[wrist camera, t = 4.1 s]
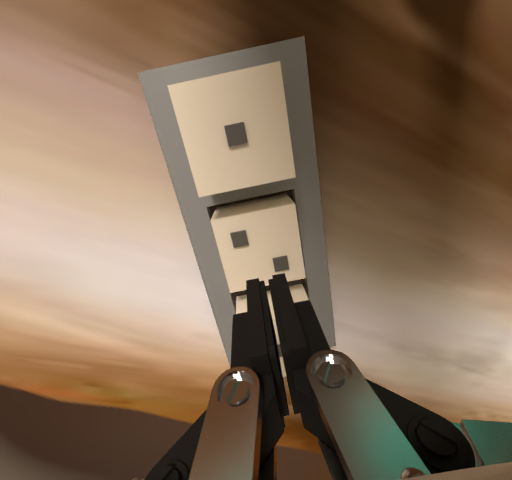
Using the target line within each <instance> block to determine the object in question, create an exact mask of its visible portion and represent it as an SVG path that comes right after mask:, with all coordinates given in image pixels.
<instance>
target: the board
mask: <svg viewBox="0 0 512 480" xmlns="http://www.w3.org/2000/svg"><path fill="white" fill-rule="evenodd" d="M277 61H280V64H281V71H282V79H283V86H284V93H285V101H286V108H287V116H288V123H289V131H290V138H291V145H292V153H293V160H294V168H295V175H296V177H295V178H290V179H285V180H281V181H276V182H271V183H266V184H261V185H256V186H252V187H247V188H242V189H237V190H232V191H228V192H223V193H218V194H213V195H208V196H203V197H199V196H198V193H197V189H196V186H195V182H194V178H193V175H192V171H191V168H190V164H189V161H188V157H187V154H186V150H185V147H184V143H183V139H182V136H181V132H180V129H179V125H178V122H177V118H176V115H175V111H174V108H173V104H172V101H171V97H170V93H169V90H168V86H167V85H172V84H176V83H181V82H185V81H190V80H195V79H199V78H204V77H208V76H213V75H218V74H222V73H227V72H231V71H236V70H241V69H245V68H250V67H254V66H259V65H264V64H268V63H273V62H277ZM138 76H139V79H140V82H141V85H142V88H143V91H144V95H145V98H146V101H147V104H148V107H149V110H150V114H151V117H152V120H153V123H154V126H155V129H156V133H157V136H158V139H159V142H160V145H161V149H162V152H163V155H164V158H165V161H166V164H167V168H168V171H169V174H170V177H171V180H172V183H173V187H174V190H175V193H176V196H177V199H178V203H179V206H180V209H181V212H182V215H183V218H184V222H185V225H186V228H187V231H188V234H189V237H190V241H191V244H192V247H193V250H194V253H195V256H196V260H197V263H198V266H199V269H200V272H201V276H202V279H203V282H204V285H205V288H206V291H207V295H208V298H209V301H210V304H211V307H212V310H213V314H214V317H215V320H216V323H217V326H218V329H219V333H220V336H221V339H222V342H223V345H224V349H225V352H226V355H227V358H228V361H229V364H230V366H231V344H232V322H233V315H234V314H236V302H235V298H234V295H233V293H230V290H229V287H228V283H227V280H226V276H225V272H224V269H223V265H222V261H221V258H220V254H219V250H218V247H217V243H216V240H215V236H214V232H213V229H212V225H211V218H212V213H211V209H210V206H214V205H219V204H223V203H228V202H233V201H238V200H243V199H248V198H252V197H257V196H262V195H267V194H272V193H277V192H282V191H286V190H291V192H292V199H293V202H294V203H295V206H296V213H297V220H298V227H299V234H300V241H301V248H302V256H303V263H304V270H305V277H306V278H304V282H305V289H306V294H307V297H308V299H309V300H310V302H311V304H312V306H313V308H314V311H315V313H316V316H317V318H318V321H319V323H320V325H321V328H322V330H323V333H324V335H325V337H326V340H327V342H328V345H329V347H330V346H335V345H336V341H335V332H334V322H333V312H332V302H331V292H330V282H329V273H328V263H327V253H326V243H325V233H324V223H323V213H322V204H321V194H320V184H319V174H318V164H317V154H316V145H315V135H314V125H313V115H312V105H311V95H310V86H309V76H308V66H307V56H306V46H305V36H302V37H297V38H293V39H288V40H284V41H279V42H275V43H270V44H265V45H261V46H256V47H252V48H247V49H243V50H238V51H233V52H229V53H224V54H220V55H215V56H211V57H206V58H202V59H197V60H192V61H188V62H183V63H179V64H174V65H170V66H165V67H161V68H156V69H151V70H147V71H142V72H138Z"/></svg>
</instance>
